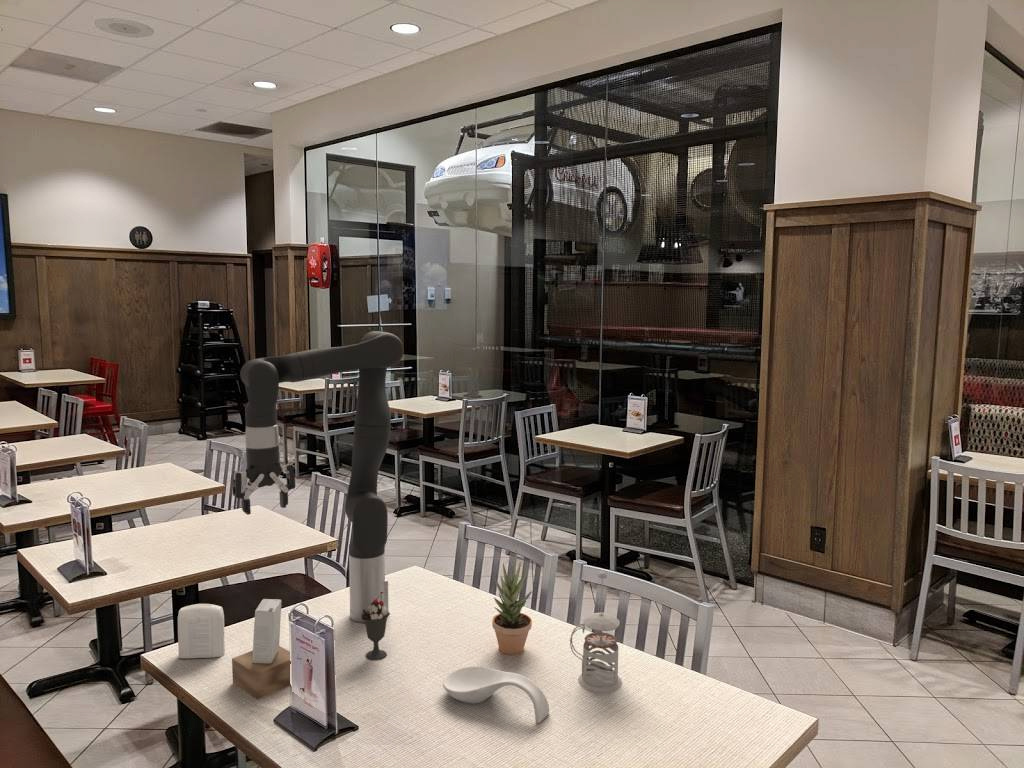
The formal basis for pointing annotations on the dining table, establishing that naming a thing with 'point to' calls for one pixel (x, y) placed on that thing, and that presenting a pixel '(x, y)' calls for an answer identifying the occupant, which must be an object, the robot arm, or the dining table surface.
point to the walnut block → (261, 674)
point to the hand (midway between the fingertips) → (265, 510)
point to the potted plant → (511, 614)
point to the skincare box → (266, 631)
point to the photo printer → (201, 631)
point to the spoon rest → (492, 687)
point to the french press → (597, 672)
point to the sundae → (375, 627)
